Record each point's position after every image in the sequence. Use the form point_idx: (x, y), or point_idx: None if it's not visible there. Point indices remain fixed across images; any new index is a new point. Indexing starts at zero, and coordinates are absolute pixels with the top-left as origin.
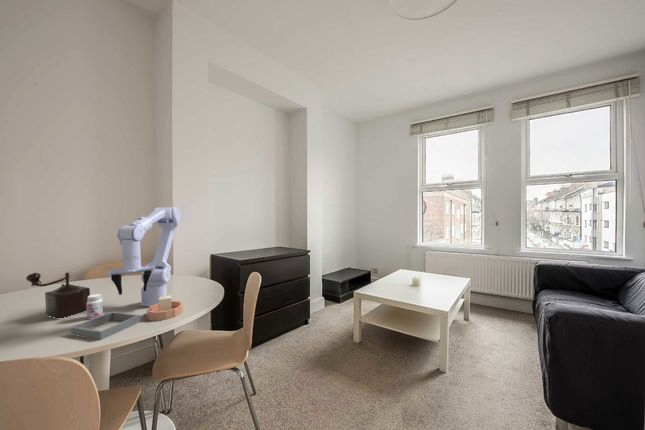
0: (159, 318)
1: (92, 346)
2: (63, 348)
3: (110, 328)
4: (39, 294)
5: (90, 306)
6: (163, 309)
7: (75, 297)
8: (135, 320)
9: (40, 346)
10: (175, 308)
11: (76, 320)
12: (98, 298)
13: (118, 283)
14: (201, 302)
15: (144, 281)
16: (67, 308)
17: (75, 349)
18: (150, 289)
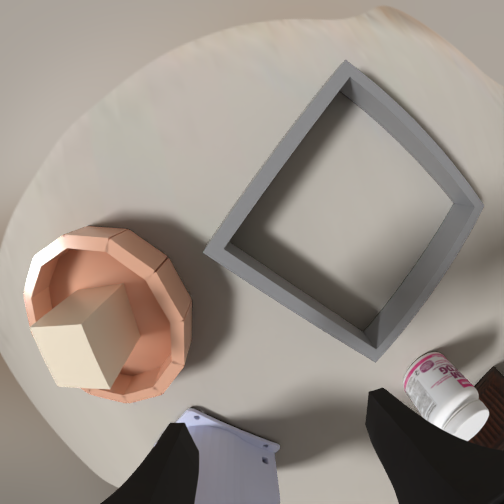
0: (107, 229)
1: (337, 26)
2: (433, 70)
3: (316, 96)
4: None
5: (463, 380)
6: (94, 296)
7: (492, 433)
8: (223, 221)
9: (497, 139)
10: (33, 267)
11: (466, 349)
12: (453, 418)
13: (440, 459)
14: (30, 376)
15: (144, 496)
16: (494, 396)
17: (388, 35)
18: (219, 494)
